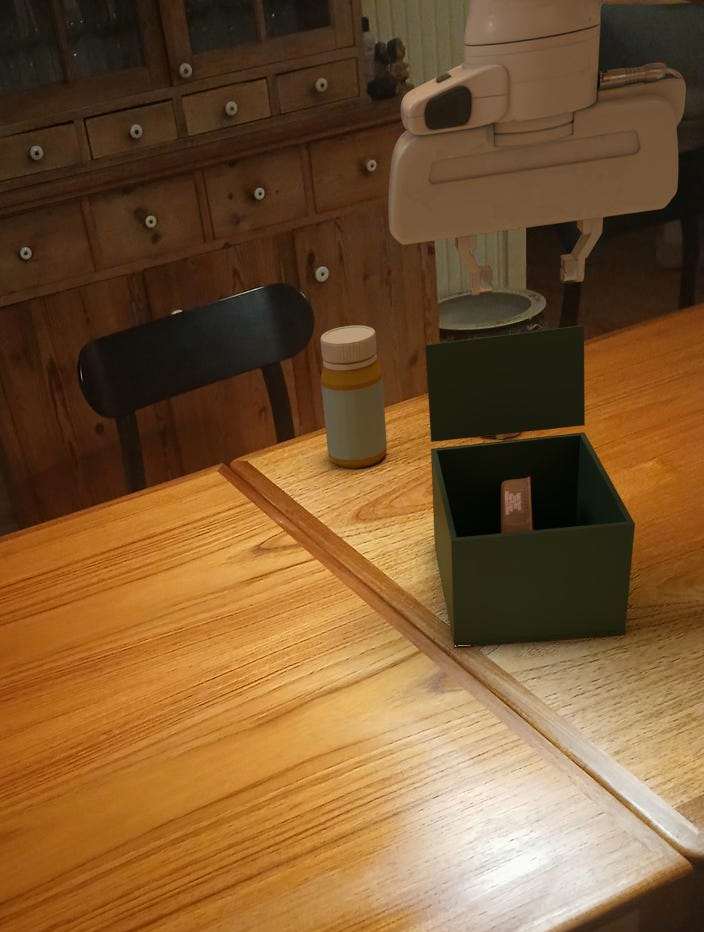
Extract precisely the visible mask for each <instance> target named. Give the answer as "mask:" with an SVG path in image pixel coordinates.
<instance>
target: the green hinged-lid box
mask: <svg viewBox="0 0 704 932" xmlns="http://www.w3.org/2000/svg"><path fill="white" fill-rule="evenodd" d="M430 459H431V461H430V462H431V464H430V465H431V483H432V484H431V488H432V512H433V515H432V516H433V536H434V537H433V538H434V539H433V540H434V549H435V554H436V559H437V565H438V570H439V575H440V581H441V585H442V592H443V594H444V595H443V596H444V597H443V598H444V601H445V602H444V603H445V606H446V611H447V617H448V623H449V628H450V633H451V632H452V634H451V638H452V637H453V639H452V643H453V642H454V644H453V647H454V646H455V645H456V646H458V645H471V646H470V647H479V646H480V647H482V646H494V645H505V644H506V645H507V644H519V643H521V644H522V643H533V642H547V641H548V642H549V641H558V640H560V641H561V640H572V639H573V640H574V639H584V638H599V637H612V636H623V635H624V636H625V635H626V627H627V617H628V605H629V595H630V583H631V573H632V564H633V563H632V561H633V551H634V539H635V529H636V523H635V522H634V520H633V518H632V516H631V514H630V512H629V510H628V509H627V507H626V505H625V503H624V502H623V500H622V498H621V495H620V494H619V492H618V490H617V488H616V487H615V485H614V483H613V481H612V480H611V478H610V476H609V474H608V473H607V470H606V469H605V467H604V465H603V463H602V462H601V460H600V458H599V456H598V454H597V453H596V451H595V448H594V447H593V445H592V443H591V442H590V440H589V438H588V436H587V434H586V432H585V431H584V432H574V433H565V434H557V435H555V434H554V435H547V436H537V437H528V438H527V437H526V438H518V439H510V440H509V439H508V440H500V441H490V442H481V443H472V444H464V445H453V446H445V447H444V446H443V447H435V448H430ZM527 477H530V481H531V499H532V500H531V501H532V518H533V530H532V531H522V532H511V533H501V484H502V482H503V481H506V480H513V479H523V478H527ZM475 645H476V646H475Z"/></svg>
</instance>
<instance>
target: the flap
mask: <svg viewBox="0 0 704 932" xmlns="http://www.w3.org/2000/svg"><path fill="white" fill-rule="evenodd" d="M424 345H425V361H426V378H427V394H428V396H427V399H428V414H429V433H430V442H431V443H435V442H443V441H445V442H446V441H453V440H463V439H473V438H481V437H482V438H483V437H491V436H496V435H501V434H510V433H519V432H520V433H526V432H527V433H529V432H534V431H535V432H538V431H545V430H555V429H564V428H565V429H566V428H572V427H581V426H583V427H584V426H586V424H585V423H586V421H585V420H586V419H585V418H586V416H585V415H586V413H585V411H586V410H585V407H586V406H585V405H586V403H585V399H586V398H585V397H586V396H585V325H583V324H582V325H573V326H566V327H558V328H548V329H541V330H533V331H532V330H531V331H526V332H517V333H516V332H515V333H510V334H501V335H492V336H485V337H476V338H469V339H461V340H452V341H443V342H437V343H429V344H424ZM520 433H519V434H520Z"/></svg>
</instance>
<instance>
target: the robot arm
mask: <svg viewBox="0 0 704 932" xmlns="http://www.w3.org/2000/svg"><path fill="white" fill-rule="evenodd" d="M690 3H691V4H698V5H704V0H468V13H467V20H466V23H465V28H464V32H463V40H462V41H463V62H462V63H461V64H459V65H457V66H455V67H453V68H452V69H450V70H448V71H446V72H444V73H442V74H440V75H439V76H438V75H437V76H436V77H434V78H433V79H430V80H428V81H427V82H425V83H423V84H421V85H418V86H417V87H415V88H412V89H411V90H409V91H408V92H406V94H404V96H403V98H402V100H401V103H400V119H401V123H402V125H403V128H405V131H404V132H403V133H402V134H400V136H399V138H398V139H397V141H396V143H395V146H394V148H393V151H392V156H391V161H390V170H389V181H388V182H389V183H388V200H387V201H388V203H387V204H388V207H387V208H388V212H387V213H388V229H389V232H390V234H391V236H392V237H393V238H394V239H395V240H396V241H397V242H398V243H399V244H400V245H411V244H419V243H420V244H421V243H425V242H434V241H441V240H448V239H454V246H455V249H456V251H457V253H458V255H459V256H460V257H461V259H462V261H463V262H464V264H465V265H466V268H467V269H468V270H469V277H470V279H469V281H470V292H471V295H472V296H480V295H484V294H485V295H487V294H492V293H493V288H494V287H493V286H494V285H493V283H492V281H493V276H494V274H493V269H492V268H491V265H490V264H485V265H479V264H478V262H477V261H476V259H475V258H474V256H473V254H472V252H471V251H475V250H477V248H478V235H484V234H490V233H498V232H506V231H513V230H520V229H528V228H534V227H540V226H549V225H556V224H563V223H570V222H576V228H577V229H578V230H579V232H581V234H580V236H579V238H578V240H577V242H576V243H575V245H574V247H573V249H572V251H571V252H570V253H566V254H560V256H559V265H560V266H561V267H560V269H559V280H560V281H561V283H562V284H563V285H564V284H572V283H579V282H584V279H585V266H586V259H588V257H589V256H590V254H591V252H592V250H593V248H595V245H596V243H597V242H598V241H599V239H600V237H601V236H602V234H603V224H604V218H606V217H614V216H619V215H628V214H634V213H641V212H648V211H657V210H662V209H665V208H666V207H667V205H669V203H670V202H671V200H672V199H673V198H674V197H675V195H676V194H677V191H678V183H679V140H678V131H677V129H678V128H677V127H678V125H679V124H680V123H681V121H682V118H683V117H684V116H683V115H684V112H685V105H686V104H685V103H686V93H687V85H686V81H685V78H684V77H683V75H682V74H681V73H680V72H679V71H678V70H676V69H675V68H671V67H667V64H666V63H665V62H652V63H647V64H644V65H642V66H638V67H637V66H636V67H623V68H622V67H621V68H613V69H607V70H601V71H599V57H600V55H599V54H600V40H601V39H600V36H601V22H602V21H601V19H602V18H601V17H602V16H601V9H602V7H603V4H605V5H611V6H627V5H628V6H629V5H645V6H651V5H652V6H653V5H672V4H690ZM666 76H670V77H672V78H665V77H666Z"/></svg>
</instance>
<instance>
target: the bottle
mask: <svg viewBox="0 0 704 932" xmlns="http://www.w3.org/2000/svg"><path fill="white" fill-rule="evenodd" d="M320 348H321V349H320V350H321V356H322V366H323V367H322V371H321V375H320V387H321V398H322V408H323V417H324V427H325V436H326V447H327V453H328V454H327V455H328V458H329V460H330V461H331V462H332V463H334V464H335V465H336V466H338V467H341V468H346V469H347V468H348V469H360V468H365V467H366V468H367V467H369V466H372V465H375V464H376V463H378V462H380V461H381V460H382V459H383V458H384V456H385V455H386V453H387V451H388V450H387V449H388V448H387V445H388V444H387V441H388V440H387V427H386V411H385V397H384V383H383V380H384V379H383V373H382V372H383V370H382V367H381V366H380V364H379V361H378V354H377V334H376V330H375V329H374V328H373V327H371V326H368V325H346V326H339V327H335V328H332V329H329V330H328V331H325V332H324V333H323V334H322V335H321V336H320Z"/></svg>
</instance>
